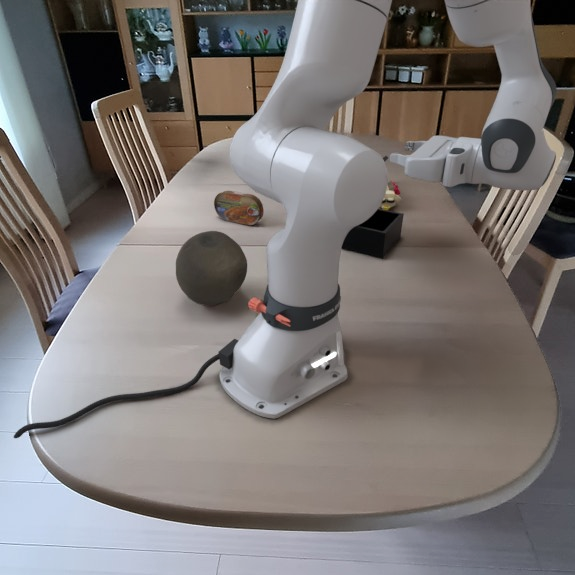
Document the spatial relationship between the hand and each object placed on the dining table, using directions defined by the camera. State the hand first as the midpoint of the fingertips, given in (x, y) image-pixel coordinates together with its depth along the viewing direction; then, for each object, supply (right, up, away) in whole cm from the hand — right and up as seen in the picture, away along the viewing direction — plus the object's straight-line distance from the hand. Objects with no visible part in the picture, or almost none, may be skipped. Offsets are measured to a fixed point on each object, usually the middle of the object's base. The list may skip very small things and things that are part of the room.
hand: (398, 151), depth 98 cm
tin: (-38, -11, +28) cm, 49 cm away
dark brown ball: (-39, -33, -4) cm, 51 cm away
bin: (-5, -18, +16) cm, 25 cm away
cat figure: (+5, -2, +41) cm, 41 cm away
